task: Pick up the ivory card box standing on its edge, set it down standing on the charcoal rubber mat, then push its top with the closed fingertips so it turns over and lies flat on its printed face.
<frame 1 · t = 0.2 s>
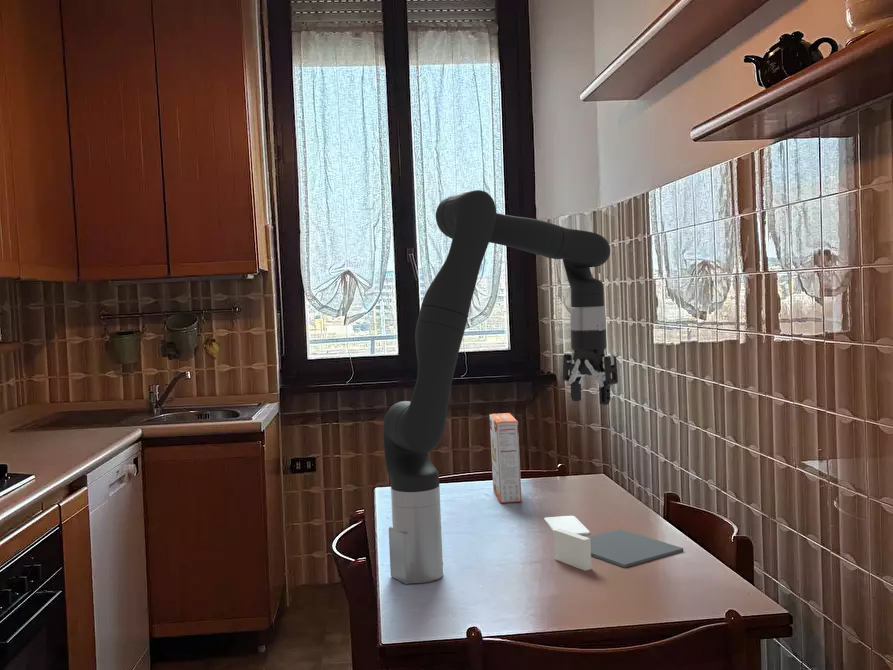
hand: (590, 402, 186), 29 cm above the table, fingers open, 8 cm apart
card box: (572, 564, 167), on the table
smartphone: (566, 528, 193), on the table
cracker box: (506, 497, 223), on the table
mat: (622, 548, 175), on the table
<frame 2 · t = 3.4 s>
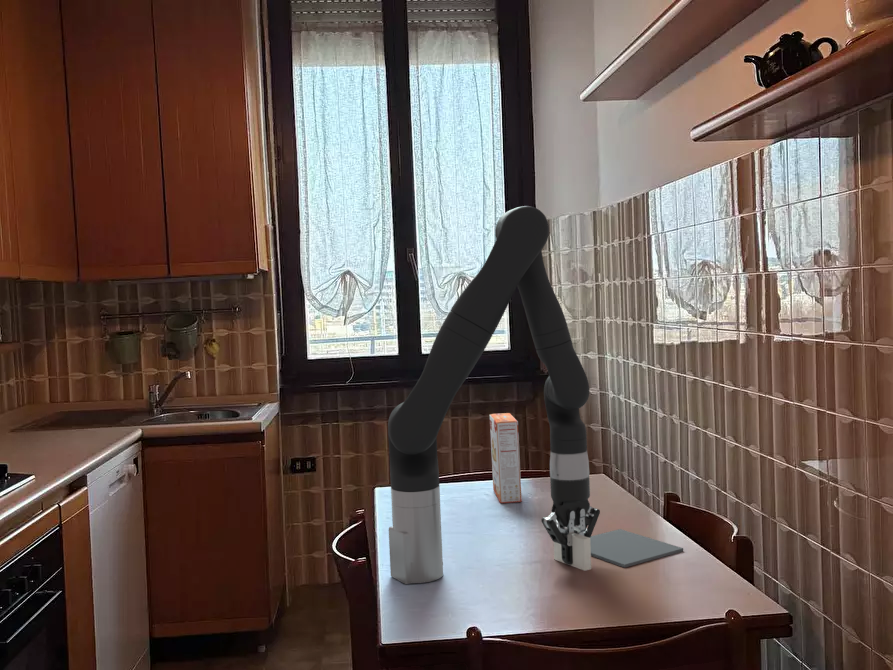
hand: (572, 562, 167), 0 cm above the table, fingers closed on card box, 1 cm apart
card box: (572, 564, 167), on the table, touching gripper
everything else where it was.
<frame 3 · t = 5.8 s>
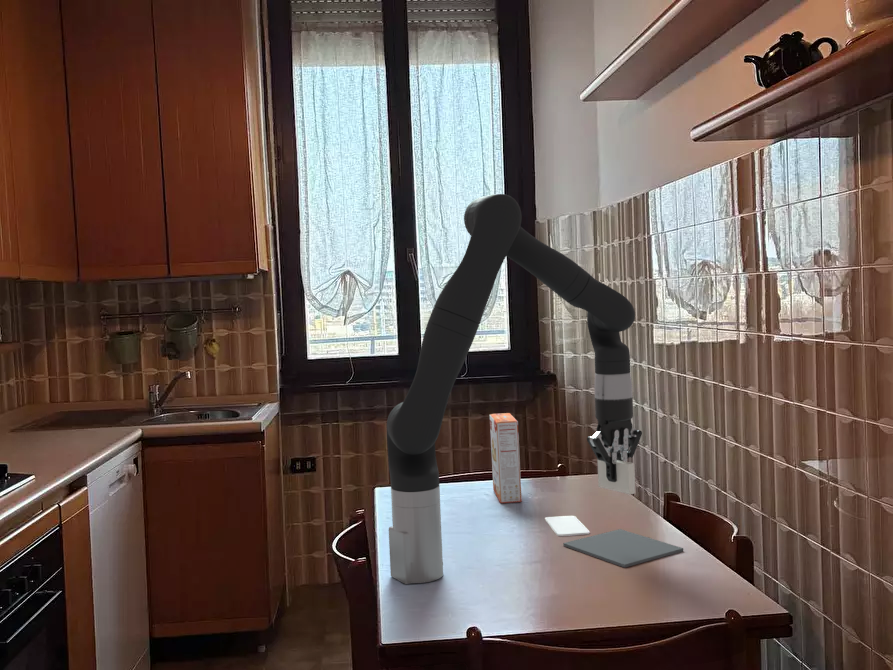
hand: (616, 480, 174), 14 cm above the table, fingers closed on card box, 1 cm apart
card box: (616, 489, 174), point 12 cm above the table, touching gripper
everything else where it was.
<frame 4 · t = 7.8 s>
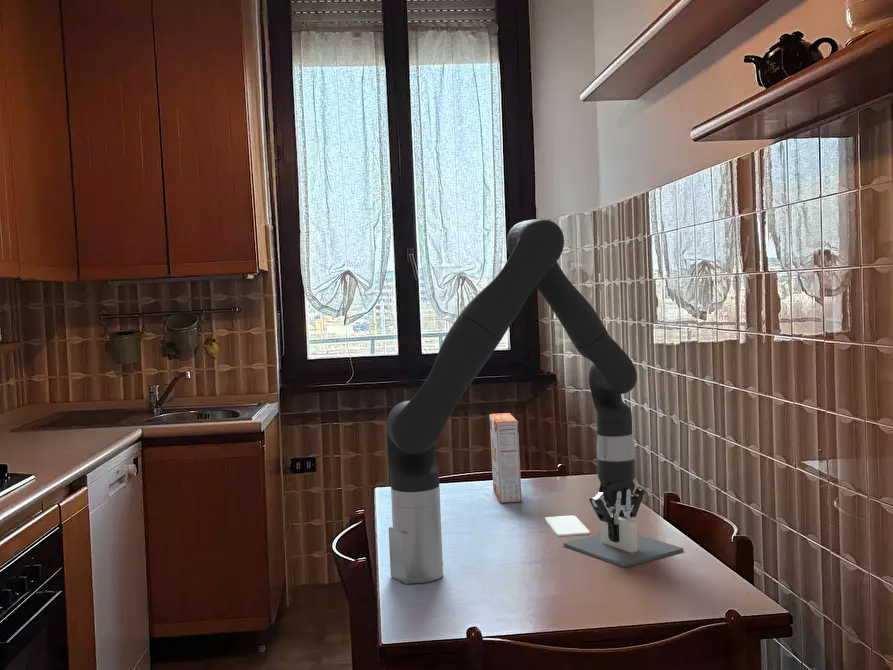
hand: (618, 540, 175), 2 cm above the table, fingers closed on card box
card box: (618, 546, 175), point 1 cm above the table, touching gripper, mat
everything else where it was.
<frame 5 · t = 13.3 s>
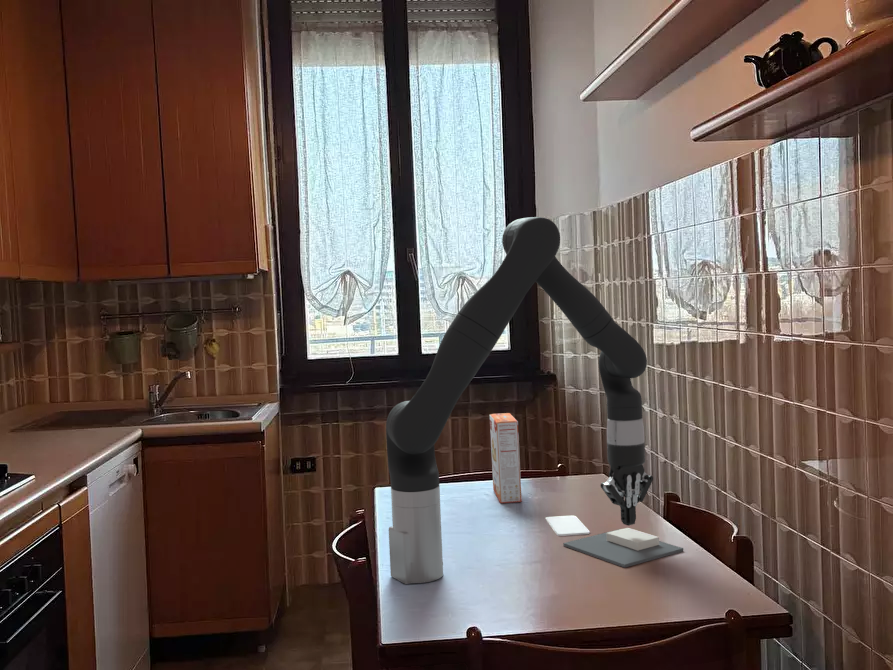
hand: (628, 524, 176), 5 cm above the table, fingers closed
card box: (621, 541, 175), point 1 cm above the table, tilted 90°, touching mat
everything else where it was.
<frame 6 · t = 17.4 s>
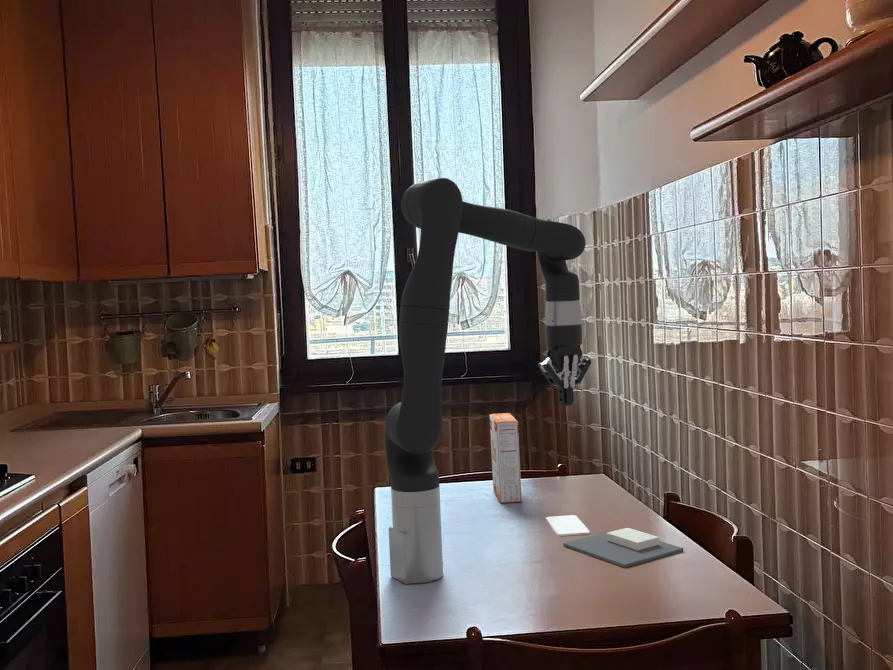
hand: (566, 405, 180), 29 cm above the table, fingers closed
nothing on the table moved.
at the end: card box tilted 90°; card box inside the target area on the mat (0.7 cm from its centre), point 1.5 cm above the mat's base; the gripper is holding nothing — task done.
